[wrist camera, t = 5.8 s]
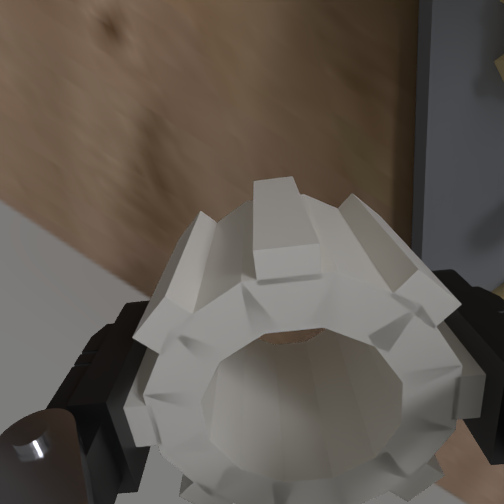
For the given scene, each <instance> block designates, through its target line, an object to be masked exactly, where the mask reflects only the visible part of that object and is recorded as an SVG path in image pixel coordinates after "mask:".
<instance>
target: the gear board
mask: <svg viewBox="0 0 504 504" xmlns="http://www.w3.org/2000/svg"><path fill="white" fill-rule="evenodd" d="M411 250H412V251H413V252H414V253H415V254H416V255H417V256H418V257H419V259H420V260H421V261H422V262H423V263H424V264H425V265H426V266H427V267H428V268H429V269H430V270H431V271H436V270H446V269H453V270H455V271H456V272H457V273H458V274H459V275H460V276H461V277H462V278H463V279H465V280H466V281H467V282H468V283H469V284H470V285H471V286H472V287H475V286H479V287H481V288H483V289H486V290H488V291H490V292H492V293H494V294H496V295H498V296H500V297H501V298H502V299H504V0H419V19H418V51H417V84H416V117H415V150H414V182H413V215H412V248H411Z"/></svg>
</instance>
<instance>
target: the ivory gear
mask: <svg viewBox="0 0 504 504" xmlns="http://www.w3.org/2000/svg"><path fill="white" fill-rule="evenodd" d="M461 305H462V304H461V303H460V302H459V301H458V299H457V298H456V297H455V296H454V295H453V294H452V293H451V292H450V291H449V290H448V289H447V288H446V287H445V285H444V284H443V283H442V282H441V281H440V280H439V279H438V278H437V277H436V276H435V275H434V274H433V273H432V271H431V270H430V269H429V268H428V267H427V266H426V265H425V264H424V263H423V262H422V261H421V260H420V259H419V257H418V256H417V255H416V254H415V253H414V252H413V251H412V250H411V249H410V248H409V247H408V246H407V244H406V243H405V242H404V241H403V240H402V239H401V238H400V237H399V236H398V235H397V234H396V233H395V232H394V230H393V229H392V228H391V227H390V226H389V225H388V224H387V223H386V222H385V221H384V220H383V219H382V218H381V216H380V215H378V214H377V213H376V212H375V211H374V210H372V209H371V208H370V207H369V206H367V205H366V204H365V203H364V202H363V201H361V200H360V199H359V198H358V197H357V196H355V195H354V194H353V193H351V194H350V196H349V197H348V198H347V199H346V200H345V201H344V202H343V203H342V204H341V206H340V207H339V208H336V207H333V206H331V205H328V204H326V203H324V202H321V201H319V200H317V199H314V198H312V197H310V196H307V195H305V194H301V195H300V193H299V191H298V188H297V186H296V183H295V181H294V178H293V176H291V177H282V178H274V179H266V180H258V181H254V187H253V200H251V201H246V202H244V203H243V204H242V205H240V206H239V207H238V208H236V209H235V210H233V211H232V212H231V213H229V214H228V215H227V216H225V217H224V218H223V219H221V220H220V221H218V222H216V221H214V220H213V219H211V218H210V217H209V216H207V215H206V214H204V213H203V212H202V211H200V212H199V213H198V215H197V216H196V217H195V219H194V220H193V221H192V223H191V224H190V225H189V227H188V228H187V229H186V231H185V232H184V233H183V234H182V236H181V237H180V238H179V240H178V243H177V245H176V247H175V249H174V251H173V253H172V255H171V257H170V259H169V261H168V264H167V266H166V268H165V270H164V272H163V274H162V276H161V278H160V280H159V282H158V285H157V287H156V289H155V291H154V293H153V295H152V297H151V299H150V301H149V303H148V306H147V308H146V310H145V312H144V314H143V316H142V318H141V320H140V322H139V324H138V327H137V329H136V331H135V333H134V335H133V337H132V338H133V339H135V340H137V341H138V342H140V343H142V344H144V345H145V346H147V350H146V352H145V355H144V357H143V360H142V362H141V365H140V367H139V370H138V372H137V375H136V377H135V380H134V382H133V385H132V387H131V390H130V392H129V395H128V397H127V400H126V402H125V405H124V407H123V408H124V411H125V414H126V417H127V420H128V423H129V426H130V429H131V432H132V435H133V438H134V441H135V444H136V447H144V446H155V445H158V447H159V451H160V454H161V455H162V456H163V457H164V458H165V459H167V460H168V461H169V462H170V463H171V464H172V465H174V466H175V467H176V468H177V469H178V470H180V471H181V472H182V473H183V477H182V482H181V488H180V494H179V497H181V498H183V499H185V500H187V501H189V502H191V503H193V504H232V503H236V504H362V503H364V502H366V501H368V500H370V499H373V498H375V497H377V496H379V495H381V494H384V493H386V492H388V491H390V492H392V493H394V494H396V495H397V496H399V497H400V498H402V499H404V500H406V501H409V500H411V499H412V498H414V497H415V496H416V495H418V494H419V493H421V492H422V491H424V490H425V489H426V488H428V487H429V486H431V485H432V484H433V483H435V482H436V481H438V480H439V479H441V478H442V477H443V476H445V475H444V473H443V471H442V469H441V467H440V465H439V462H438V460H437V458H436V456H435V453H436V452H437V451H438V450H439V448H440V447H441V446H442V445H443V444H444V443H445V441H446V440H447V439H448V438H449V437H450V435H451V434H452V433H453V432H454V431H455V430H456V421H457V419H469V418H480V415H481V408H482V401H483V393H484V386H485V379H486V374H485V372H484V371H483V370H482V369H481V367H480V366H479V365H478V363H477V362H476V361H475V360H474V358H473V357H472V356H471V355H470V353H469V352H468V351H467V350H466V348H465V347H464V346H463V344H462V343H461V342H460V341H459V339H458V338H457V337H456V336H455V334H454V333H453V332H452V331H451V329H450V328H449V327H448V325H447V324H446V323H445V322H444V319H446V318H447V317H448V316H449V315H450V314H451V313H452V312H454V311H455V310H456V309H457V308H458V307H459V306H461ZM315 328H326V330H325V331H323V332H321V333H320V334H318V335H316V336H315V337H313V338H311V339H310V340H308V341H306V342H297V343H287V344H277V345H274V344H271V343H268V342H265V341H263V340H260V339H257V338H259V337H260V336H262V335H263V334H265V333H275V332H285V331H295V330H305V329H315Z"/></svg>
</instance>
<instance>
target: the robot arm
mask: <svg viewBox="0 0 504 504" xmlns="http://www.w3.org/2000/svg"><path fill="white" fill-rule="evenodd" d="M432 273H433V274H434V275H435V276H436V277H437V278H438V279H439V280H440V281H441V282H442V283H443V284H444V285H445V287H446V288H447V289H448V290H449V291H450V292H451V293H452V294H453V295H454V296H455V297H456V298H457V299H458V301H459V302H460V303H461V304H462V305H461V306H459V307H458V308H457V309H456V310H455V311H454V312H452V313H451V314H450V315H449V316H448V317H447V318H446V319H444V322H445V323H446V324H447V325H448V327H449V328H450V329H451V331H452V332H453V333H454V334H455V336H456V337H457V338H458V339H459V341H460V342H461V343H462V344H463V346H464V347H465V348H466V350H467V351H468V352H469V353H470V355H471V356H472V357H473V358H474V360H475V361H476V362H477V363H478V365H479V366H480V367H481V369H482V370H483V371H484V372H485V374H486V379H485V386H484V393H483V401H482V408H481V415H480V418H469V419H463V421H464V422H465V424H466V425H467V427H468V429H469V430H470V432H471V434H472V435H473V437H474V438H475V440H476V442H477V443H478V445H479V447H480V448H481V450H482V451H483V453H484V455H485V456H486V458H487V460H488V461H489V463H490V464H491V465H497V464H504V299H502V298H501V297H500V296H498V295H496V294H494V293H492V292H490V291H488V290H486V289H483V288H481V287H479V286H475V287H472V286H471V285H470V284H469V283H468V282H467V281H466V280H465V279H463V278H462V277H461V276H460V275H459V274H458V273H457V272H456V271H455V270H453V269H446V270H436V271H432ZM148 303H149V301H141V302H131V303H126V304H125V306H124V307H123V309H122V311H121V312H120V314H119V316H118V317H117V319H116V321H115V323H114V324H107V325H105V327H103V328H102V329H101V330H99V331H98V332H97V333H96V334H95V335H93V336H92V337H91V339H90V340H89V342H88V343H87V345H86V346H85V348H84V350H83V351H82V354H81V355H80V356H79V357H78V359H77V361H76V362H75V364H74V365H75V366H74V367H72V368H71V370H70V372H69V373H68V375H67V376H66V378H65V379H64V381H63V383H62V384H61V386H60V387H59V389H58V391H57V392H56V394H55V395H54V397H53V398H52V400H51V401H50V403H49V405H48V406H47V408H46V409H45V410H41V411H38V412H35V413H32V414H30V415H28V416H26V417H24V418H22V419H20V420H19V421H17V422H16V423H14V424H13V425H11V426H10V427H9V428H8V429H6V430H5V431H4V432H3V433H2V434H1V435H0V504H114V503H115V500H116V497H117V494H118V493H130V492H138V488H139V485H140V481H141V478H142V474H143V471H144V467H145V463H146V460H147V457H148V453H149V450H150V446H144V447H136V444H135V441H134V438H133V435H132V432H131V429H130V426H129V423H128V420H127V417H126V414H125V411H124V408H123V407H124V405H125V402H126V400H127V397H128V395H129V392H130V390H131V387H132V385H133V382H134V380H135V377H136V375H137V372H138V370H139V367H140V365H141V362H142V360H143V357H144V355H145V352H146V350H147V346H145V345H144V344H142V343H140V342H138V341H137V340H135V339H133V338H132V337H133V335H134V333H135V331H136V329H137V327H138V324H139V322H140V320H141V318H142V316H143V314H144V312H145V310H146V308H147V306H148Z"/></svg>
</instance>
